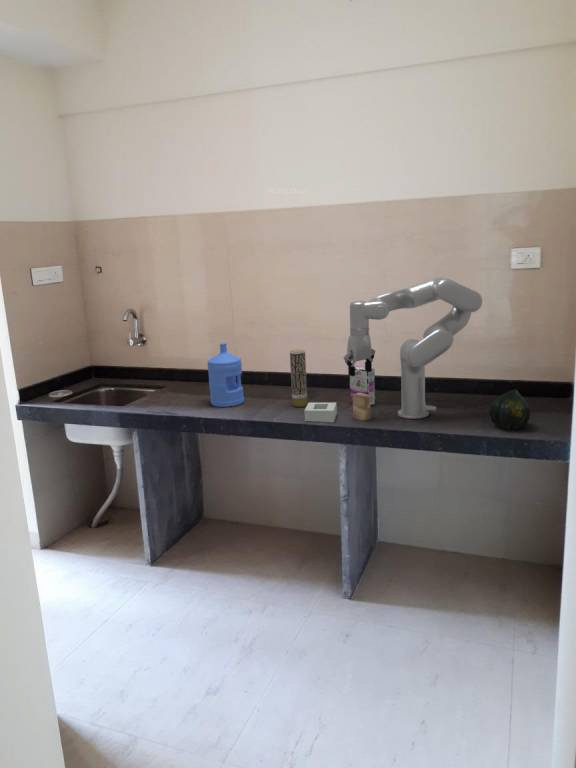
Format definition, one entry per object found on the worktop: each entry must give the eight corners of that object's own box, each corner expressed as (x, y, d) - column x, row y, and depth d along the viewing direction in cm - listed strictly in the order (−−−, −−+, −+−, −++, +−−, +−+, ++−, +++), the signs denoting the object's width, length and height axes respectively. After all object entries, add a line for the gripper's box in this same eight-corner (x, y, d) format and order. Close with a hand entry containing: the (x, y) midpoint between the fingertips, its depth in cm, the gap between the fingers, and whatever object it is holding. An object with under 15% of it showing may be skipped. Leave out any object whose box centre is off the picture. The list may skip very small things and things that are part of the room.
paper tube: (289, 405, 288) (286, 351, 282) (300, 402, 292) (298, 349, 286) (299, 408, 283) (296, 353, 277) (310, 405, 287) (308, 350, 281)
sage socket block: (336, 413, 272) (336, 402, 270) (333, 422, 260) (333, 410, 259) (309, 413, 274) (308, 402, 273) (304, 422, 262) (304, 410, 261)
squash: (485, 418, 237) (514, 389, 233) (480, 408, 252) (507, 380, 248) (514, 443, 237) (543, 413, 234) (507, 431, 252) (534, 404, 248)
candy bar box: (375, 404, 283) (375, 368, 279) (368, 407, 279) (367, 370, 275) (357, 400, 291) (356, 365, 287) (349, 402, 288) (348, 367, 284)
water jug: (205, 407, 292) (200, 347, 285) (217, 398, 307) (212, 341, 300) (238, 408, 288) (233, 347, 281) (248, 398, 303) (244, 341, 296)
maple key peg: (359, 415, 267) (359, 392, 265) (370, 418, 263) (370, 395, 261) (353, 417, 265) (352, 394, 263) (363, 420, 260) (363, 397, 258)
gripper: (367, 328, 263) (367, 368, 268) (337, 334, 253) (338, 376, 257) (381, 330, 258) (381, 371, 262) (351, 336, 247) (351, 378, 251)
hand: (360, 373), depth 259 cm, fingers open, 9 cm apart
